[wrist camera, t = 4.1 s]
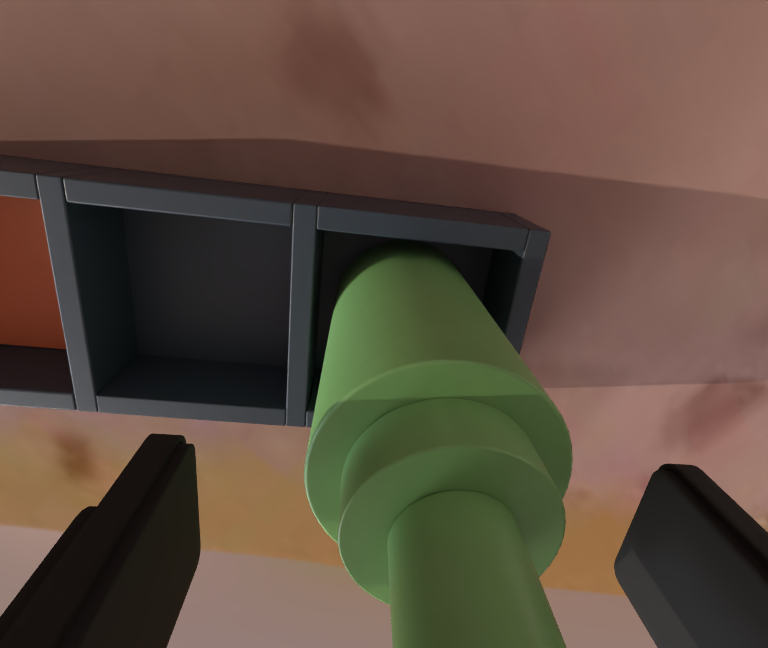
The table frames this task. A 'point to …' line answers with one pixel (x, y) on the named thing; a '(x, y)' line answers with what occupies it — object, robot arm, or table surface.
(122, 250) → the tray
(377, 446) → the bottle
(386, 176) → the table surface
